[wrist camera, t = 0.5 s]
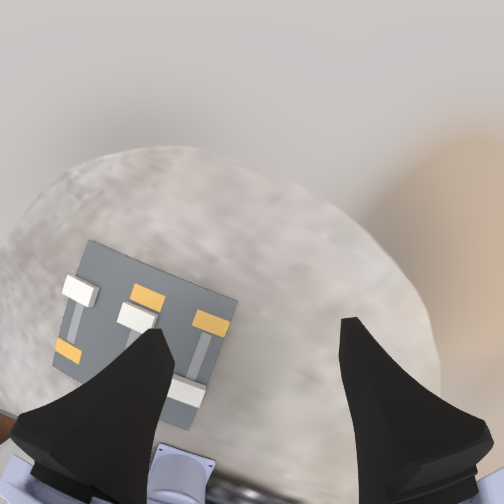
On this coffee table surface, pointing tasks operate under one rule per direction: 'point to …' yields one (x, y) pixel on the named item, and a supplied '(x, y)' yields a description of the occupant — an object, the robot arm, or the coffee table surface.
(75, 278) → the switch
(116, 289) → the switch board
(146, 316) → the switch
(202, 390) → the switch
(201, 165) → the coffee table surface
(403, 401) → the robot arm
